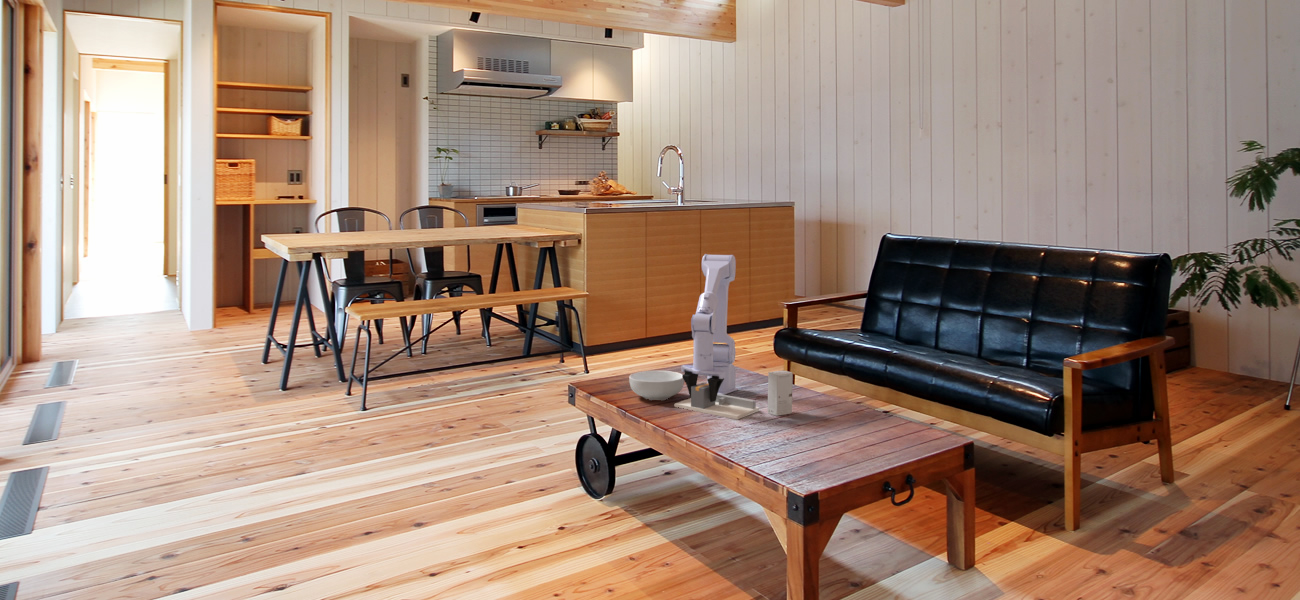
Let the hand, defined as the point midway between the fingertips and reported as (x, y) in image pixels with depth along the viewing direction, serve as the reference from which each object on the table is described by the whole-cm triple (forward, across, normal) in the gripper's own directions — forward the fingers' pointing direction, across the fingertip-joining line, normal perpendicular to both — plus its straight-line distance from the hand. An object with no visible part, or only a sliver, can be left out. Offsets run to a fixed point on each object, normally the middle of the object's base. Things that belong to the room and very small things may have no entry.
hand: (702, 399), depth 250 cm
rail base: (+3, +3, +3) cm, 5 cm away
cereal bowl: (+3, -19, +2) cm, 19 cm away
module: (+2, 0, 0) cm, 2 cm away
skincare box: (+3, +20, +10) cm, 23 cm away
